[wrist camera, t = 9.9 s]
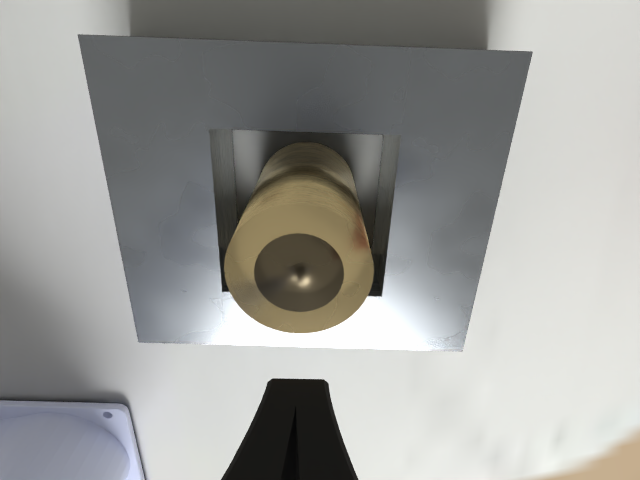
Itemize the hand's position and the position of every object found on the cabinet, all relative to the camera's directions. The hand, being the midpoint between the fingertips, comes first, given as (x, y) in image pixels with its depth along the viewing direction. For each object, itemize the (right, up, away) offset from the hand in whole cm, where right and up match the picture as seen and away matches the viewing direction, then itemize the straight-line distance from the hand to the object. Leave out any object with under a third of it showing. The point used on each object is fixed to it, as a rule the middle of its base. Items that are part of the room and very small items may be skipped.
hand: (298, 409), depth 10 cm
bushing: (0, +6, +7) cm, 10 cm away
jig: (0, +6, +7) cm, 10 cm away
